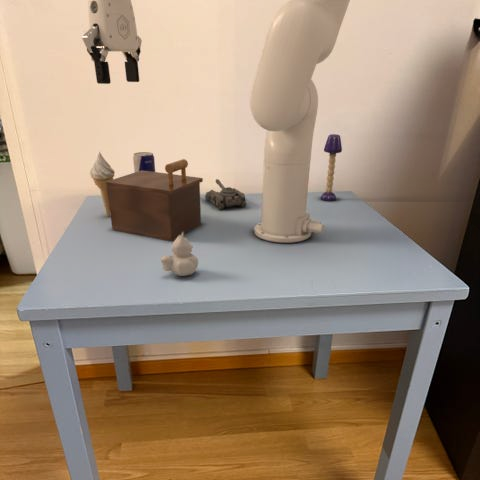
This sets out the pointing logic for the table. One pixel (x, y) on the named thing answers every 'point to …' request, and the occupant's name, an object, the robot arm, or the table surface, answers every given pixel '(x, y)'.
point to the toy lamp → (331, 164)
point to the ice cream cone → (102, 178)
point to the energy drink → (144, 161)
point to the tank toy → (225, 197)
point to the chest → (154, 211)
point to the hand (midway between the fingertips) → (119, 82)
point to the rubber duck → (180, 258)
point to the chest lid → (158, 180)
